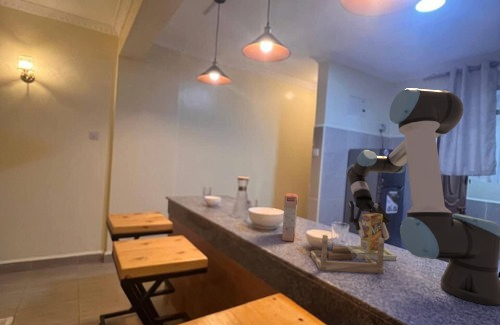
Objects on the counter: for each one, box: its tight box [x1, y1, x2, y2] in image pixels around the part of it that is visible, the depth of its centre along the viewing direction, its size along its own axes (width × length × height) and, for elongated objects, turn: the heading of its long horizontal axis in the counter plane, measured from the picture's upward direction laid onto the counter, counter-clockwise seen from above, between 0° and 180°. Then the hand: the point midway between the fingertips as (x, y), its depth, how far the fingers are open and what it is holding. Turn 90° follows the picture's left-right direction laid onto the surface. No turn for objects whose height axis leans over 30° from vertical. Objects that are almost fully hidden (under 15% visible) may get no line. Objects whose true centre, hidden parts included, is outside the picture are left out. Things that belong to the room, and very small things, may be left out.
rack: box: [309, 234, 385, 275], centre depth 104 cm, size 16×22×12 cm
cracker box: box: [281, 192, 299, 243], centre depth 134 cm, size 14×6×21 cm, turn 168°
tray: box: [346, 244, 397, 262], centre depth 116 cm, size 12×16×2 cm
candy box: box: [359, 212, 383, 253], centre depth 116 cm, size 9×4×15 cm, turn 125°
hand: (374, 237), depth 112 cm, fingers closed on candy box, 9 cm apart
